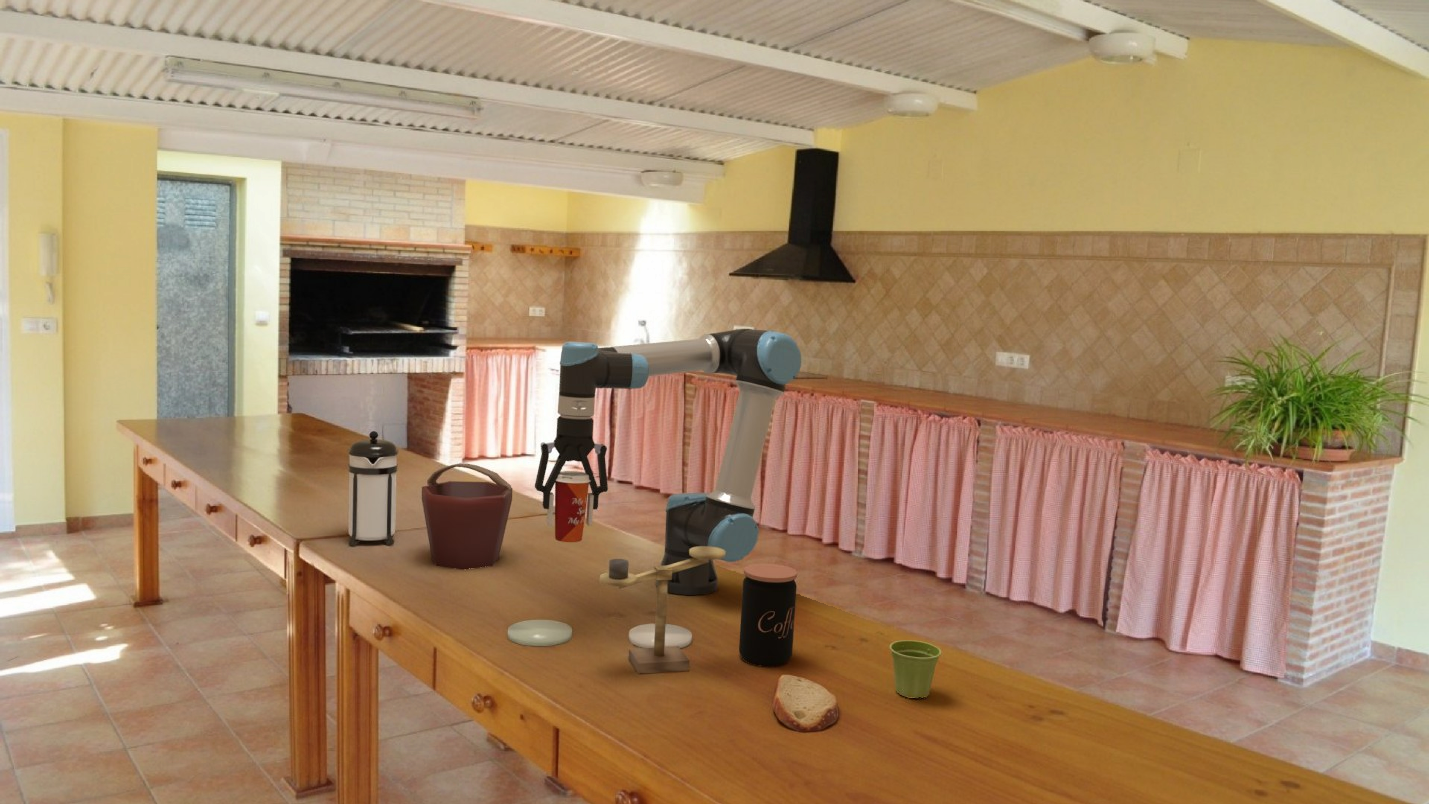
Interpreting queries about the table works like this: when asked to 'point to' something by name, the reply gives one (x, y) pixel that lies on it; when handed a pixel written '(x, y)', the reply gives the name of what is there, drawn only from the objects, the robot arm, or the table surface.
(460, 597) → the table surface
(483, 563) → the bucket
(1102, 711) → the table surface
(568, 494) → the paper cup
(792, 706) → the bread slice
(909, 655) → the plant pot
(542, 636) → the sage dish
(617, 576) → the balance
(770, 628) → the coffee jar
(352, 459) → the coffee press
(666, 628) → the white dish
